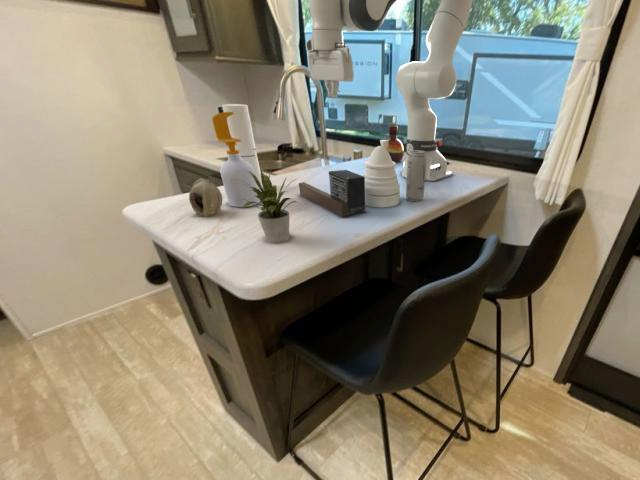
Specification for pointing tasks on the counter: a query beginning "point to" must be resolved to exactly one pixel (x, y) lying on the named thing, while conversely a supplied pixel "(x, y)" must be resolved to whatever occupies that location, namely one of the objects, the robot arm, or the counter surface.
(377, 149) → the honey pot
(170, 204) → the counter surface
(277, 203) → the house plant
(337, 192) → the small box
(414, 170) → the energy drink can
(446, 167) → the robot arm
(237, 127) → the cylindrical container
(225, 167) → the spray bottle
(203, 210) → the round stone pot
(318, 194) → the back rail
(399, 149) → the vase
